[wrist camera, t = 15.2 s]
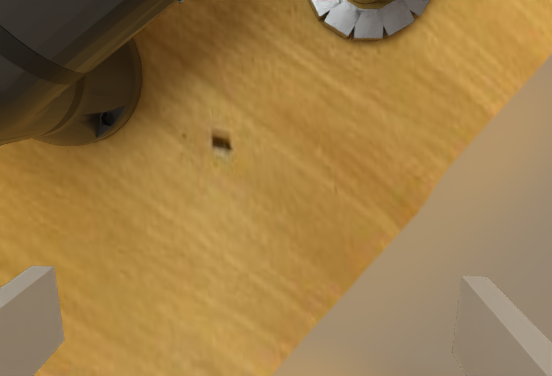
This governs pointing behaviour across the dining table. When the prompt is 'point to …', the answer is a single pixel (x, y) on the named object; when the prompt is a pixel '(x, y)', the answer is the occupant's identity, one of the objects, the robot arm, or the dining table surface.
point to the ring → (367, 17)
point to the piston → (365, 1)
